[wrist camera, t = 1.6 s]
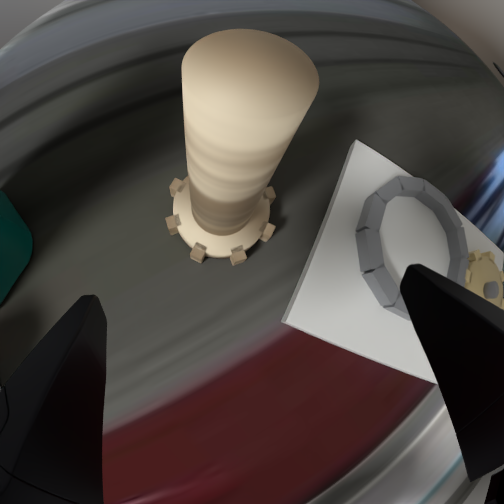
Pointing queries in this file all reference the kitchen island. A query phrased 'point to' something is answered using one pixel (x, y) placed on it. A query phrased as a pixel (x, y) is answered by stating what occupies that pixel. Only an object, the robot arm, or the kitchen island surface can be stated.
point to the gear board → (386, 261)
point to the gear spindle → (236, 137)
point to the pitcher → (12, 245)
